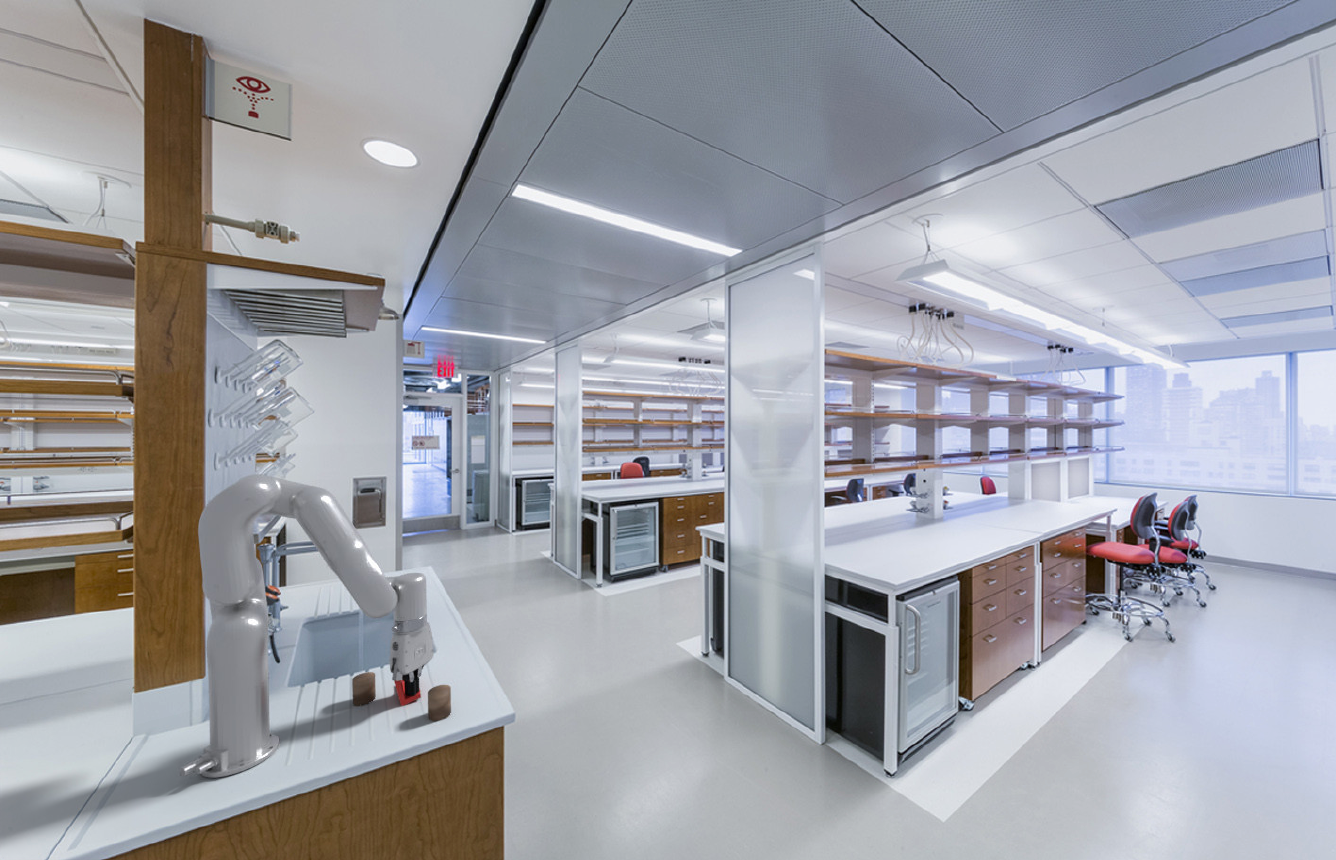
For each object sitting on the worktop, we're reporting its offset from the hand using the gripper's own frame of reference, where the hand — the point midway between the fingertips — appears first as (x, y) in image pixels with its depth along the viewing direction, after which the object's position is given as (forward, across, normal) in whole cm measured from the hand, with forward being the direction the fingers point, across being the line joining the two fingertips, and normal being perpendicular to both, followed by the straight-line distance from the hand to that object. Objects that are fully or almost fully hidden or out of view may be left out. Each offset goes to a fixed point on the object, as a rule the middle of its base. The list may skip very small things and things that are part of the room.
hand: (412, 694), depth 123 cm
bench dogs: (+2, -4, 0) cm, 4 cm away
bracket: (+1, +3, +3) cm, 4 cm away
